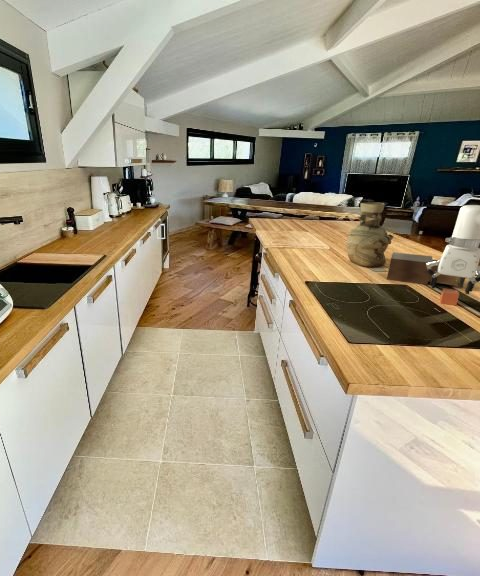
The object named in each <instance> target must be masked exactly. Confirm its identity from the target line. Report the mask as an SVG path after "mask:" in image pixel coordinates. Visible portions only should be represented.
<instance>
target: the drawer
mask: <svg viewBox="0 0 480 576" xmlns="http://www.w3.org/2000/svg"><path fill="white" fill-rule="evenodd" d="M432 260H433V262H435V261H439V260H440V259H433V258H432ZM432 270H433V271H434V272H435V271H437V270H438V265H436V266H432ZM478 276H480V271H478V270H477V271H476V274H475V276H474V277H478ZM431 279H432V276H431V275H430V277H429V281H428V283H430V282H431ZM465 281H466V278H463V277H455V276H448V275H443V274H440V275H439V276H437V282H436V284H441V285H442V284H443V285H450V286H455V285H456V284H457V286H458V288H461V289H462V288H463V287H464V284H465Z"/></svg>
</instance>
